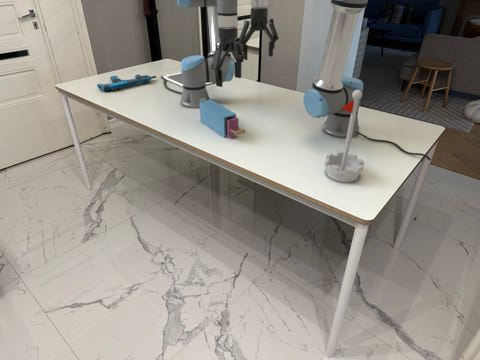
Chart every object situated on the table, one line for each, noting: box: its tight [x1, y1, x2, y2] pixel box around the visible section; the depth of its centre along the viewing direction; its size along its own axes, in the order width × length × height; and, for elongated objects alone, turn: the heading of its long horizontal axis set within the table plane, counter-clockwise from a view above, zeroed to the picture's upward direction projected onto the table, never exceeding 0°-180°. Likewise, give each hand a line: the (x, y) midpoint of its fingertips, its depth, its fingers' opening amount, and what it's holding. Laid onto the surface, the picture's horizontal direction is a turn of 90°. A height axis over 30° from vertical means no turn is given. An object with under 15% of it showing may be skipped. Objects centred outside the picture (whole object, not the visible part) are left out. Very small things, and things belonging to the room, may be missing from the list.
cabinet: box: [199, 99, 237, 138], centre depth 151 cm, size 21×6×9 cm, turn 34°
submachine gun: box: [96, 74, 157, 92], centre depth 207 cm, size 34×4×25 cm
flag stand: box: [323, 90, 365, 183], centre depth 111 cm, size 13×13×30 cm
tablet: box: [160, 71, 216, 88], centre depth 213 cm, size 32×20×1 cm, turn 41°
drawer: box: [225, 117, 246, 138], centre depth 146 cm, size 25×5×8 cm, turn 34°
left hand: (228, 81), depth 142 cm, fingers open, 13 cm apart
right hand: (258, 57), depth 160 cm, fingers open, 13 cm apart
